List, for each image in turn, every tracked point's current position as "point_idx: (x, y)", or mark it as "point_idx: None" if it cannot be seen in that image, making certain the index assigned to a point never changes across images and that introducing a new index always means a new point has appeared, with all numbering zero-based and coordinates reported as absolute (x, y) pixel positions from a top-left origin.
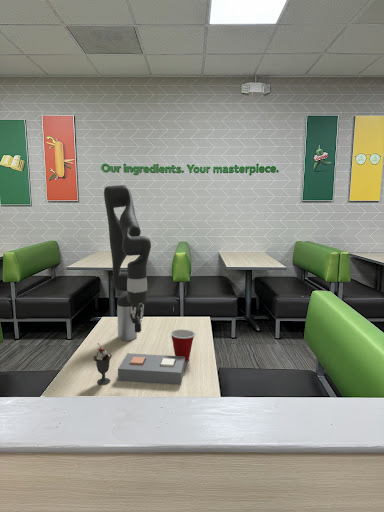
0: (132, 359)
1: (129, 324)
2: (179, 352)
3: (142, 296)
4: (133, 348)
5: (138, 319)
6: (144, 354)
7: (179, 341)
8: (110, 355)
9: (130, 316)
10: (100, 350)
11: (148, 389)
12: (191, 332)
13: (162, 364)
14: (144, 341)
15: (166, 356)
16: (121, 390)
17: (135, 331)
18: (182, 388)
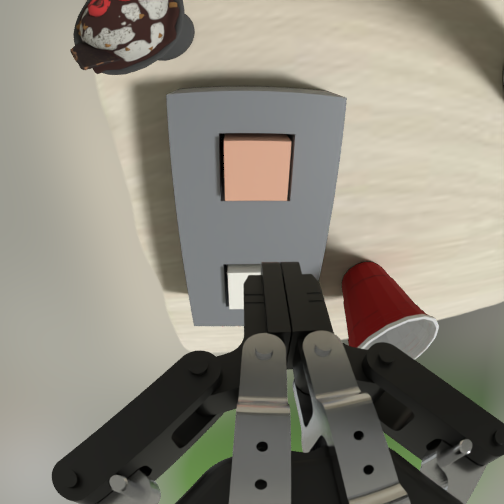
0: (257, 144)
1: None
2: (347, 301)
3: None
4: (457, 103)
5: (174, 441)
6: (333, 184)
7: (353, 339)
8: (150, 55)
9: (59, 463)
10: (89, 10)
11: (149, 215)
12: None
13: (228, 277)
14: (495, 143)
15: (311, 273)
16: (119, 128)
17: (262, 267)
18: (182, 299)
